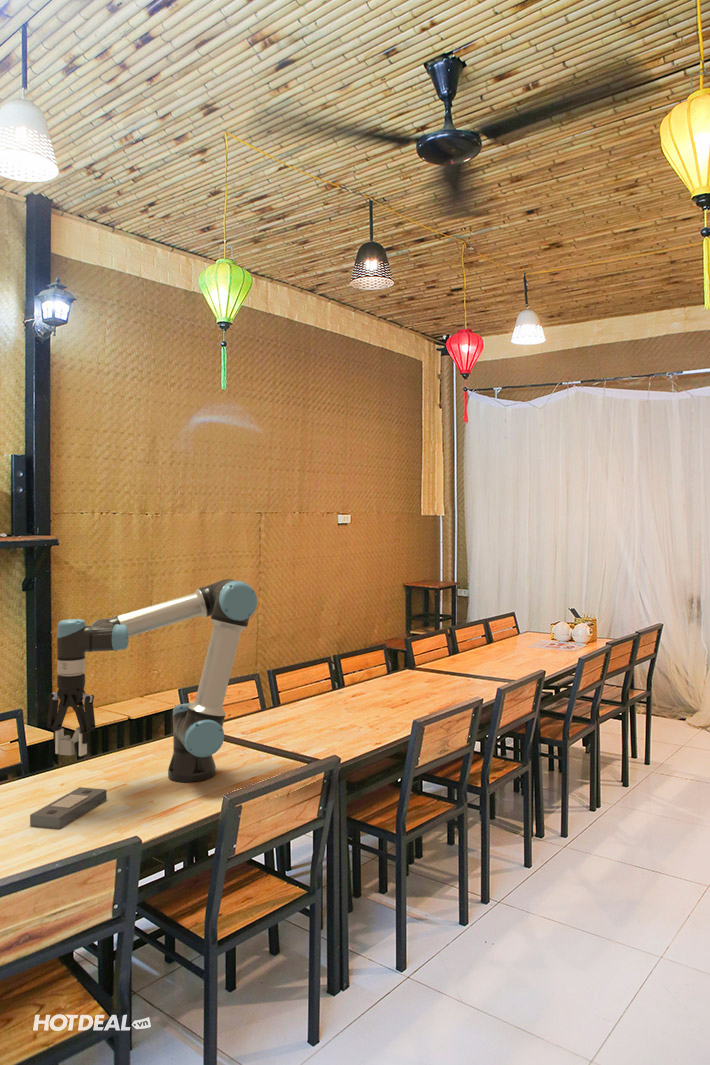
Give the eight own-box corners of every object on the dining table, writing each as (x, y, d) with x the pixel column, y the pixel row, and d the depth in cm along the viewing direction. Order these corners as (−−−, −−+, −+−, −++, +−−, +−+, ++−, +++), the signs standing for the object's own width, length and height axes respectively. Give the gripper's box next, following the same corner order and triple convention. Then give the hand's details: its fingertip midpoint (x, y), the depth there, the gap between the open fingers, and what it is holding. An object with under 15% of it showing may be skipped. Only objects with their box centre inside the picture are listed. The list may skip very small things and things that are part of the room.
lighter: (58, 754, 213) (58, 726, 213) (62, 752, 214) (62, 725, 214) (80, 756, 211) (80, 728, 211) (83, 754, 212) (83, 726, 212)
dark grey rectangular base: (106, 799, 218) (106, 788, 218) (59, 828, 197) (59, 816, 197) (79, 797, 221) (79, 786, 221) (30, 825, 199) (30, 814, 199)
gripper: (32, 674, 212) (32, 754, 212) (93, 678, 206) (93, 760, 206) (50, 669, 219) (50, 747, 219) (109, 673, 213) (109, 752, 213)
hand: (71, 753), depth 212 cm, fingers closed on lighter, 7 cm apart
